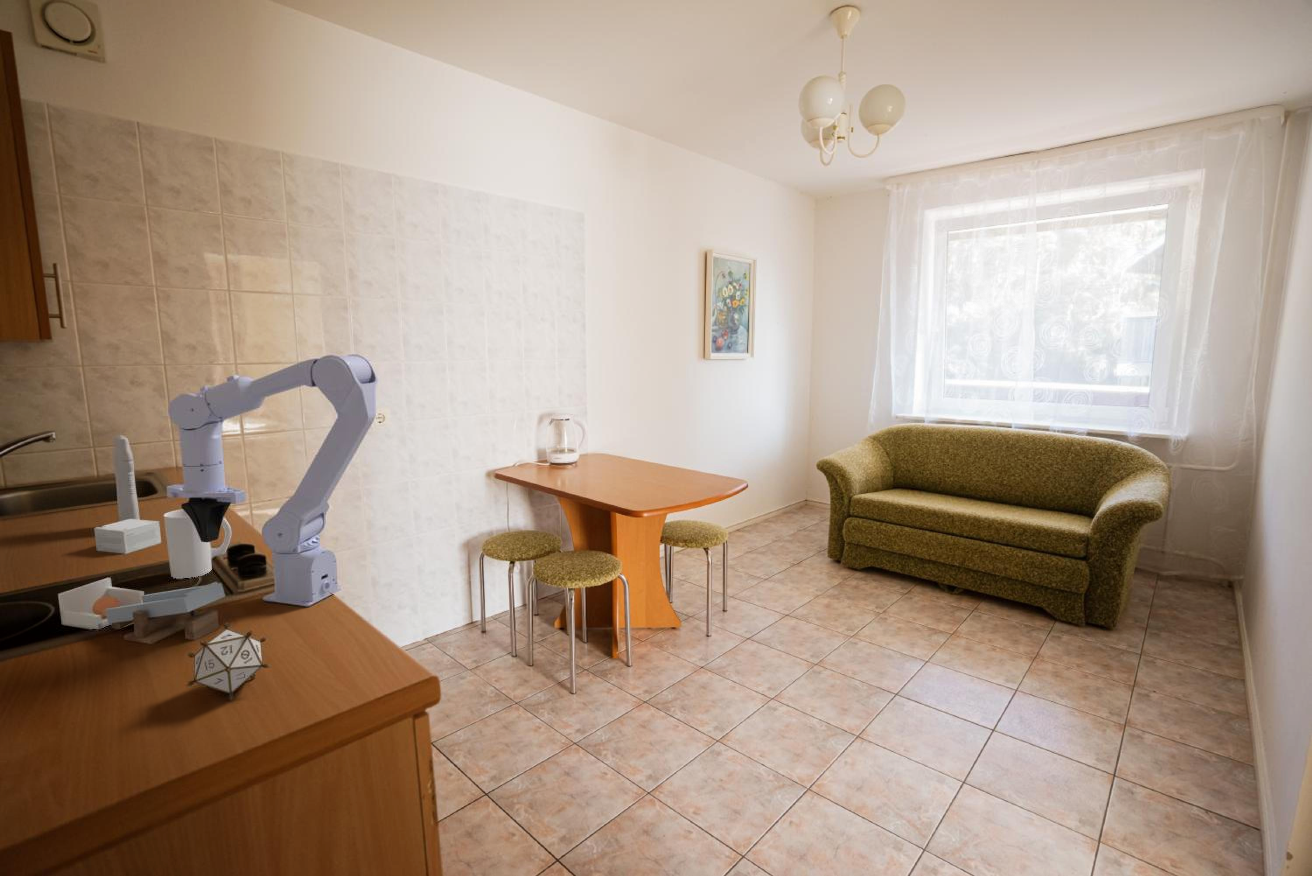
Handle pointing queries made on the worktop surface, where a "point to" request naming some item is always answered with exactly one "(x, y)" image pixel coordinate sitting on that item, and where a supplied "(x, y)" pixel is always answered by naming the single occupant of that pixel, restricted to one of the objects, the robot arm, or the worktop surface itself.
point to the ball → (105, 605)
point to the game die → (227, 661)
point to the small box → (127, 536)
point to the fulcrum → (170, 625)
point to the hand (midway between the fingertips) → (209, 540)
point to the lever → (168, 602)
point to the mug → (190, 546)
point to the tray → (92, 603)
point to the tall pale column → (125, 479)
